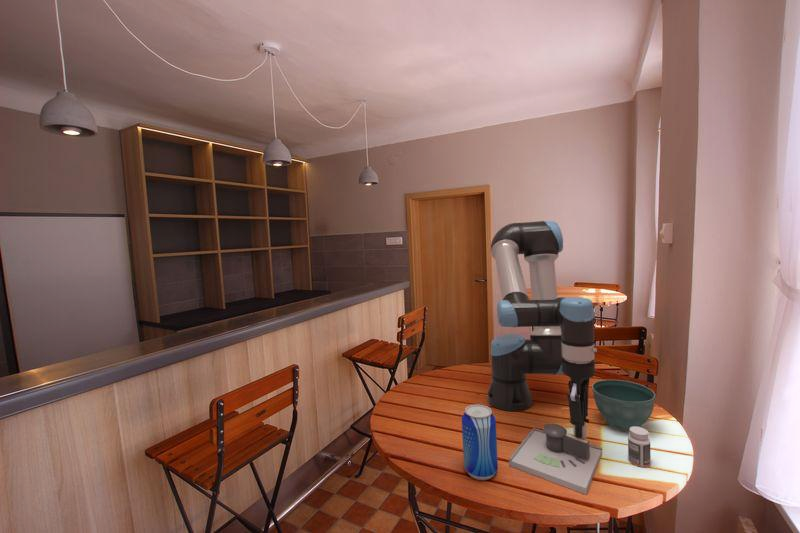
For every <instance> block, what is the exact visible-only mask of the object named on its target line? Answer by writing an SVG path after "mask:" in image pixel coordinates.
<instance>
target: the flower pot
mask: <svg viewBox="0 0 800 533" xmlns="http://www.w3.org/2000/svg"><path fill="white" fill-rule="evenodd" d="M591 389H592V390H591V391H592V395H593V399H594V403H595V406H596V408H597V409H598V411H599V413H600V415H601V416H602V417H603V418H604V421H605V423H606V425H608V426H609V427H610V428H612V429H615V430H618V431H622V432H628V433H629V430H630V427H633V426H636V427H641V428H643V425H644V424H645V423H646V422H648V420H649V419H650V417H651V416H652V414H653V411H654V407H655V400H656V393H655V392H654V391H653V390H652V389H650V388H649V387H647V386H645V385H642V384H640V383H636V382H634V381H628V380H623V379H622V380H621V379H602V380H597V381H595V382H594V383H592V386H591Z"/></svg>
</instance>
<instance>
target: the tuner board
mask: <svg viewBox="0 0 800 533" xmlns="http://www.w3.org/2000/svg"><path fill="white" fill-rule="evenodd" d="M540 453H541V454H543V455H545V456H547V457H550V458H553V459H558V460H559V468H558V467H553V466H551V464H550V465H546V464H543V463H541V462H542V461H541V462H539V461H537V460H535V459H534V457H536V456H537V455H539V454H540ZM602 456H603V448H602V447H600V446H598V445H593V444H590V456H589V457H590V458H589V459H585V458H582V457H580V456H577V455H575V454H572V453H569V452H567V451H563V452H553V451H551V450H549V449H548V448H547V447H546V434H545V433H544V429H543V430H541V429H539V428H536V427H532V428H531V431H530V432H528V434H527V435H526V436H525V438H524V439H523V440H522V442H521V443H520V444H519V445H518V447H517V448H516V449H515V450H514V452H513V453H512V454H511V455H510V456H509V457H508V466H509V467H511V468H514V469H517V470H519V471H522V472H524V473H527V474H530V475H533V476H536V477H538V478H541V479H544V480H547V481H549V482H552V483H554V484H557V485H560V486H562V487H565V488H568V489H569V490H573V491H575V492H577V493H578V492H579V493H581V494H583V495H587V493H588V491H589V489H590V486H591V484H592V481H593V478H594V476H595V474H596V471H597V468H598V466H599V465H600V464H599V463H600V461H601V458H602ZM575 458H578V459H580V460H582V461H584V462H585V464H583V463H581V462H579V461H577V460H576V459H575ZM560 460H561V461H563V462H564V464H565V466H566V467H563V466H562V464H561V462H560ZM568 460H571V461H572V462H573V463H574V464H576V465H577V467H574V466H573V465H572V464H571V463H570V462H569V461H568Z"/></svg>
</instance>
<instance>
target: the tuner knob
mask: <svg viewBox="0 0 800 533" xmlns="http://www.w3.org/2000/svg"><path fill="white" fill-rule="evenodd" d="M543 431H544V433H545V434H546V447H547V448H548V449H549V450H551V451H553V452H563V451H567V452H569V453H572V454H575V455H577V456H580V457H582V458H585V459H588V458H589V456H590V445H591V443H590V441H589V440H587V439H586V440H583V439H580V438H577V437H574V435H572V434H569V433H568V429H567V428H566V427H564V426H563V425H560V424H557V423H546V424H545V425H544V426H543Z"/></svg>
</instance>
